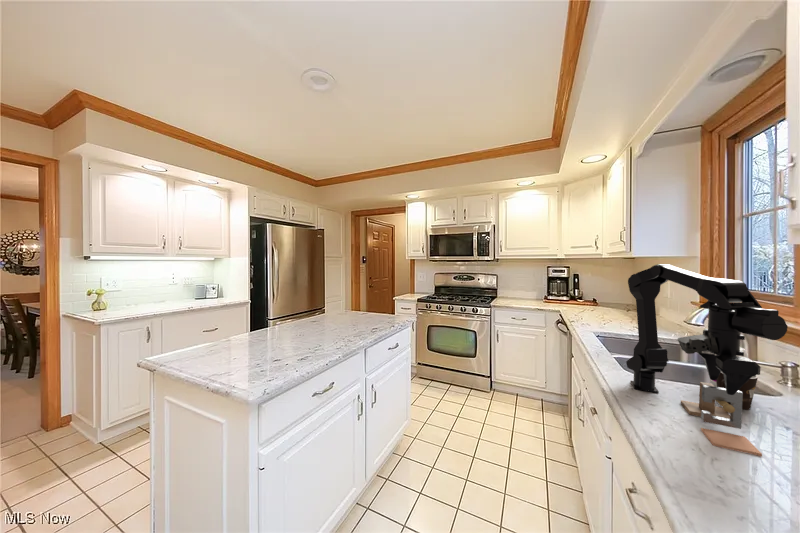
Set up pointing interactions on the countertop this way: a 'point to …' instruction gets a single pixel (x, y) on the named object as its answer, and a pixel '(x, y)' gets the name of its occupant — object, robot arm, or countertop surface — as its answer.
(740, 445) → the mat
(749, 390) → the coffee mug
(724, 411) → the stand
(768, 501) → the countertop surface
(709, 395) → the link
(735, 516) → the countertop surface
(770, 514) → the countertop surface
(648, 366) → the robot arm
